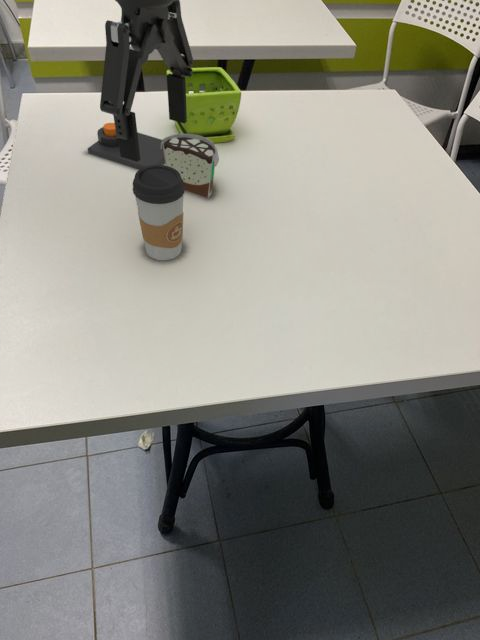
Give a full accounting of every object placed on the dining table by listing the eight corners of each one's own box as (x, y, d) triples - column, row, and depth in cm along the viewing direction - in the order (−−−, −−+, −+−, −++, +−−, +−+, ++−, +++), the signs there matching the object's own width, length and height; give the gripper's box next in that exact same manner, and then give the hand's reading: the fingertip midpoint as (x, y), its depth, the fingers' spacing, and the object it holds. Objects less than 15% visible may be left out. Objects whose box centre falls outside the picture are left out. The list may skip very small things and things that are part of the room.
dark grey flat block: (86, 155, 109) (83, 139, 106) (117, 132, 116) (115, 118, 114) (152, 175, 106) (150, 160, 103) (179, 151, 113) (178, 137, 110)
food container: (228, 188, 105) (230, 143, 97) (214, 202, 101) (215, 156, 94) (178, 171, 108) (176, 126, 100) (163, 184, 104) (159, 138, 96)
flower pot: (183, 152, 113) (181, 95, 103) (167, 124, 121) (164, 68, 111) (240, 146, 117) (243, 90, 108) (221, 119, 125) (222, 65, 116)
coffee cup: (164, 273, 86) (157, 197, 75) (130, 252, 89) (119, 176, 77) (196, 251, 91) (195, 177, 79) (163, 232, 93) (157, 157, 82)
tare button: (101, 134, 109) (100, 127, 107) (109, 129, 111) (108, 121, 109) (114, 138, 108) (112, 130, 107) (122, 132, 110) (121, 125, 109)
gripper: (105, -9, 49) (131, 184, 65) (216, -52, 64) (215, 112, 80) (42, -24, 50) (83, 169, 66) (166, -62, 66) (174, 101, 82)
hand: (155, 138), depth 73 cm, fingers open, 13 cm apart
